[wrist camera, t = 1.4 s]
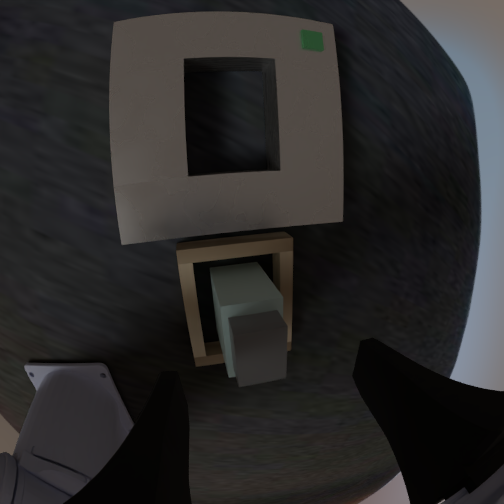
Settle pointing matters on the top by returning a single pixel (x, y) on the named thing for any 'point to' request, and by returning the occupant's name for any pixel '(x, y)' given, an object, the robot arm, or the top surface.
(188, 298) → the tan square frame
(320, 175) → the port
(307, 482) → the top surface
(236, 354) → the plug
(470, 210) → the top surface
